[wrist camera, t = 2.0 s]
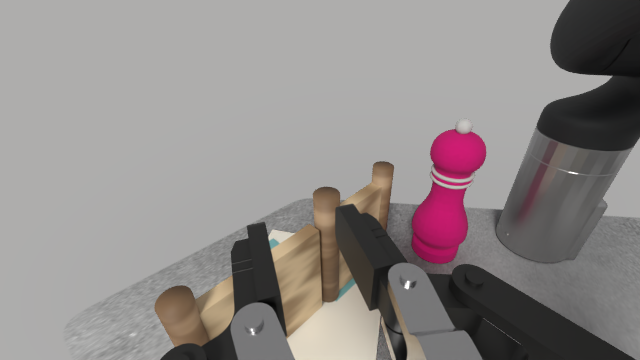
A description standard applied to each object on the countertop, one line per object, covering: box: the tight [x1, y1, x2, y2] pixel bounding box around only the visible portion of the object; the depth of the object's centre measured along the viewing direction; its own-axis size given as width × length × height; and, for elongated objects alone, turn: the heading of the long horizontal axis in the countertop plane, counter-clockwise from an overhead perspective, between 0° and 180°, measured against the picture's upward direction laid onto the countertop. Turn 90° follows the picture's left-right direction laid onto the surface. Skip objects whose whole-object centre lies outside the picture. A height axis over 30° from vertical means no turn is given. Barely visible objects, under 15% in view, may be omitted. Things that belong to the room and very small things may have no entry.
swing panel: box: [155, 224, 322, 347], centre depth 27 cm, size 14×2×14 cm, turn 135°
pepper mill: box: [412, 119, 486, 264], centre depth 38 cm, size 7×7×20 cm
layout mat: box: [268, 230, 381, 360], centre depth 35 cm, size 18×24×1 cm
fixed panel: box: [313, 162, 394, 303], centre depth 35 cm, size 12×3×15 cm, turn 135°
